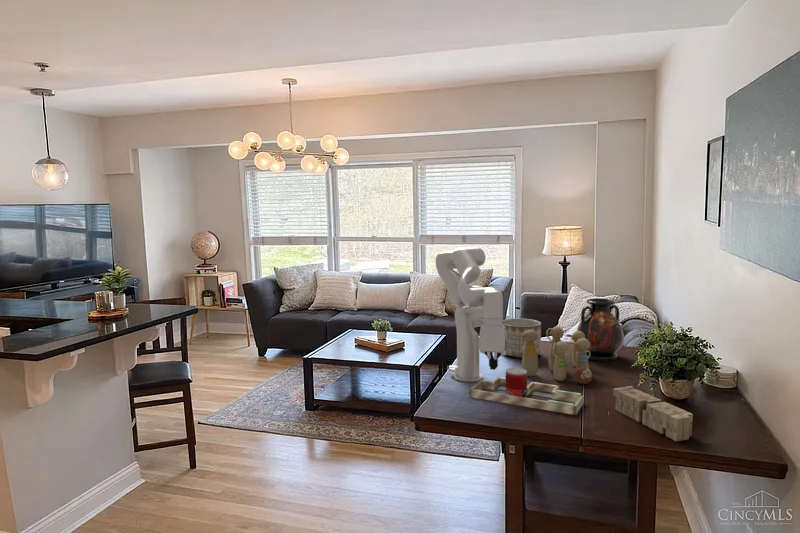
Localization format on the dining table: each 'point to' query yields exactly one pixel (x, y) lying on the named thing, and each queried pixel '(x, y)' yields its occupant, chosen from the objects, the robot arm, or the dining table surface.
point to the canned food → (516, 382)
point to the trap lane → (532, 389)
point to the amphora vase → (601, 329)
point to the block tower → (654, 413)
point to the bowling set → (558, 355)
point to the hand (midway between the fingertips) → (493, 368)
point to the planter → (520, 335)
